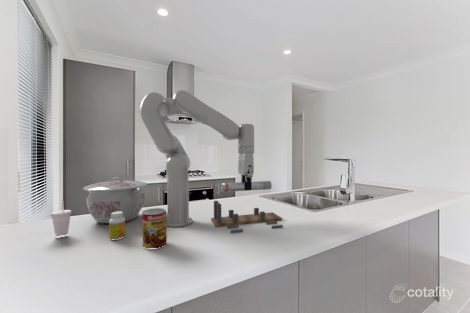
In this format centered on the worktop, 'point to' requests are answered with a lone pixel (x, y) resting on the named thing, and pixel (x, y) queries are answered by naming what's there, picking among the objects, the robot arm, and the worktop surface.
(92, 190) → the chamber pot
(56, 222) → the smoothie
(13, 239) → the worktop surface
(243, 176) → the robot arm
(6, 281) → the worktop surface
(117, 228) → the supplement bottle
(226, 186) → the tube
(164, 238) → the canned food
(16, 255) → the worktop surface
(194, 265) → the worktop surface
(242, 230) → the set of grey slats
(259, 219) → the brown board
